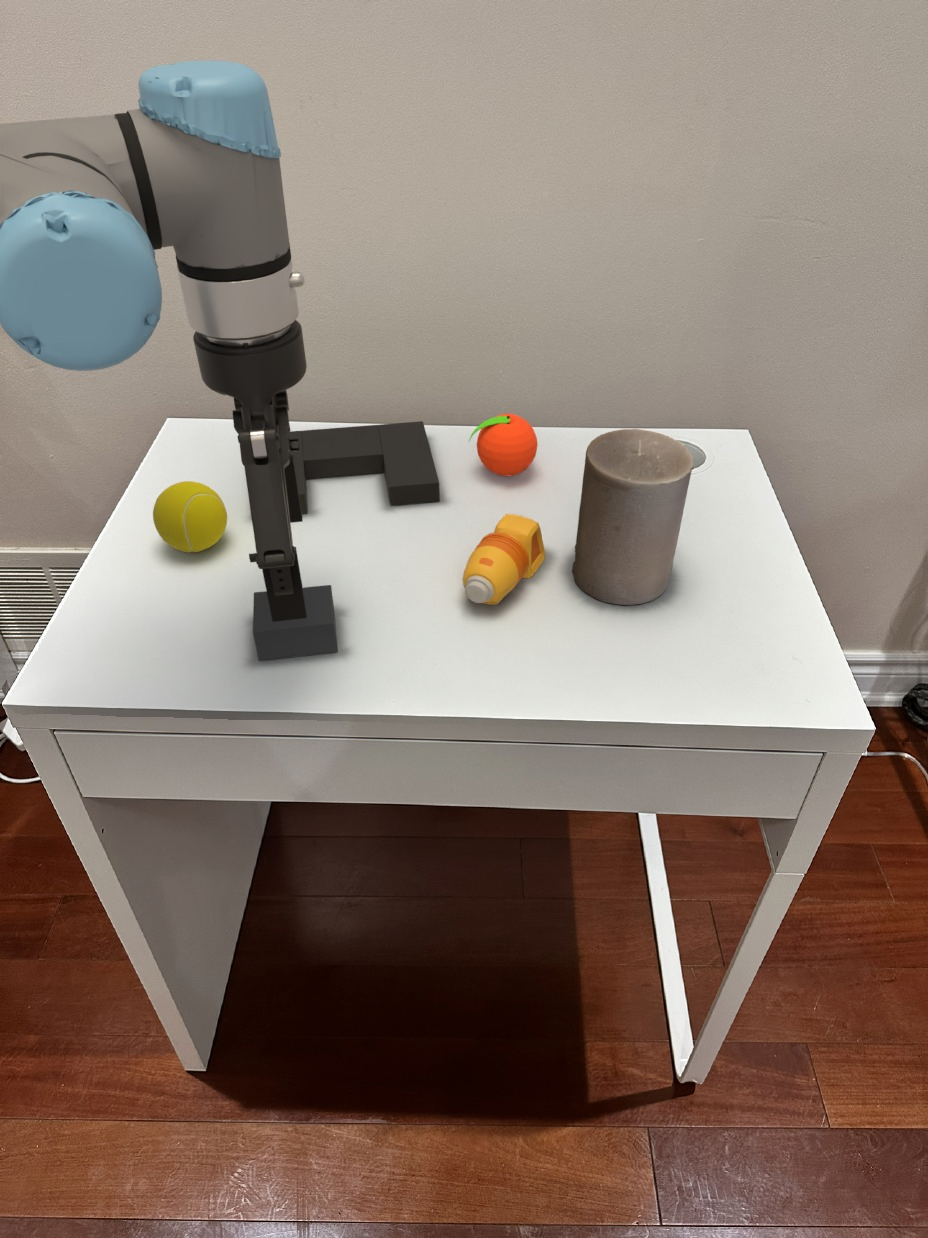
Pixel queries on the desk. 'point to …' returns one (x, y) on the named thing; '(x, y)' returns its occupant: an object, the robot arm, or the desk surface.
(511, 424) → the clementine
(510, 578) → the yellow toy drill
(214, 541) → the tennis ball
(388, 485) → the black u-shaped block
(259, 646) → the dark grey rectangular block
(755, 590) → the desk surface
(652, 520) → the pillar candle
